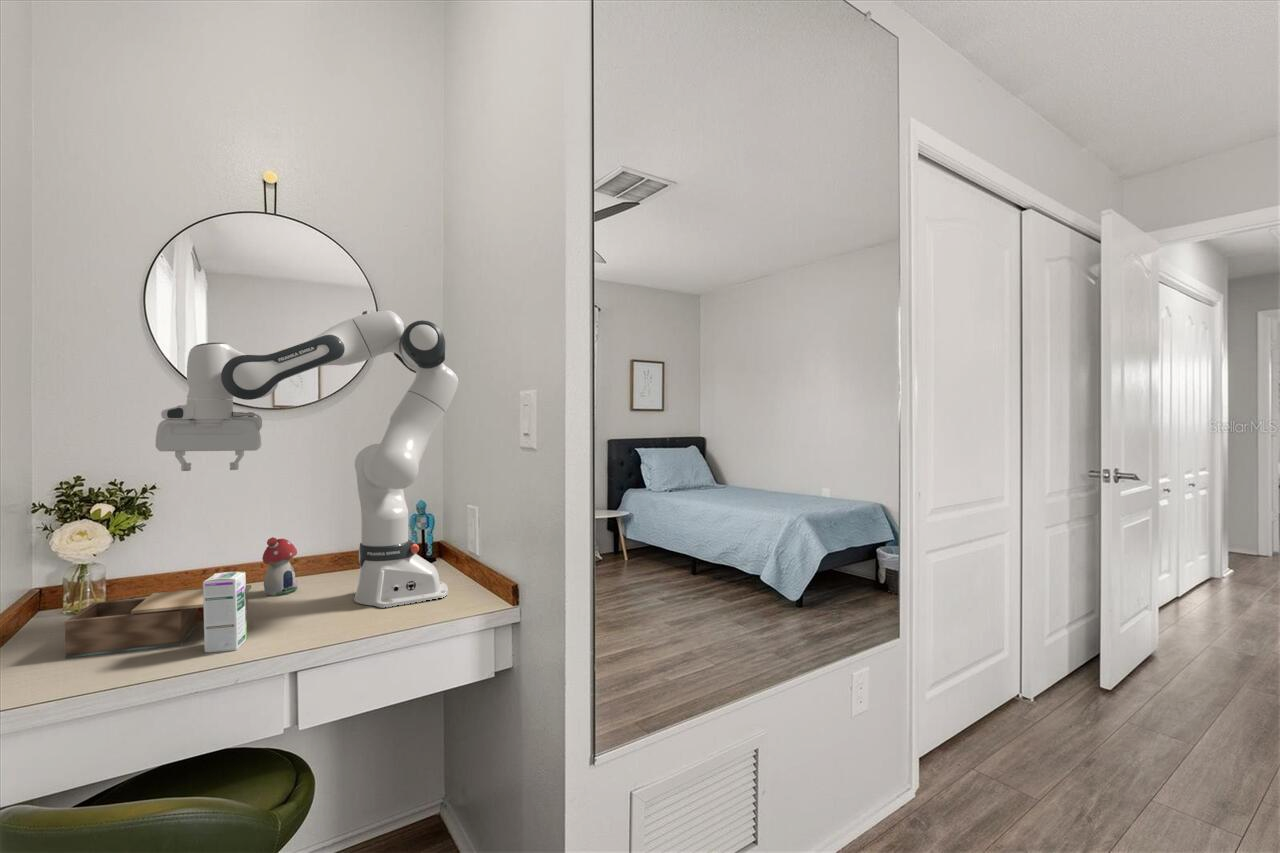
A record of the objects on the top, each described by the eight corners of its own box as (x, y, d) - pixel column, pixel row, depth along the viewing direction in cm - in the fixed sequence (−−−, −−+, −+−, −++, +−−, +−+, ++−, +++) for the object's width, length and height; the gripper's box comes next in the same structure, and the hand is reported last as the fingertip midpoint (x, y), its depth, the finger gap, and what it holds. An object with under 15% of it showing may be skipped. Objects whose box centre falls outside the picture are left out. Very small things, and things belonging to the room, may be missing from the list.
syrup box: (237, 650, 119) (237, 578, 118) (202, 653, 117) (202, 580, 117) (247, 639, 124) (247, 570, 124) (214, 642, 123) (214, 572, 122)
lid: (251, 587, 136) (251, 567, 136) (239, 603, 125) (239, 581, 124) (153, 595, 129) (152, 574, 129) (131, 613, 118) (130, 590, 117)
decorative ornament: (271, 599, 150) (271, 539, 149) (253, 595, 152) (253, 537, 152) (305, 589, 159) (304, 533, 158) (287, 586, 161) (287, 530, 161)
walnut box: (197, 624, 132) (197, 593, 132) (180, 644, 121) (180, 610, 121) (93, 635, 125) (93, 602, 125) (65, 658, 114) (64, 621, 114)
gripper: (264, 412, 148) (264, 467, 148) (162, 410, 140) (162, 469, 140) (259, 412, 142) (259, 470, 142) (152, 411, 134) (152, 472, 134)
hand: (210, 470), depth 141 cm, fingers open, 8 cm apart
